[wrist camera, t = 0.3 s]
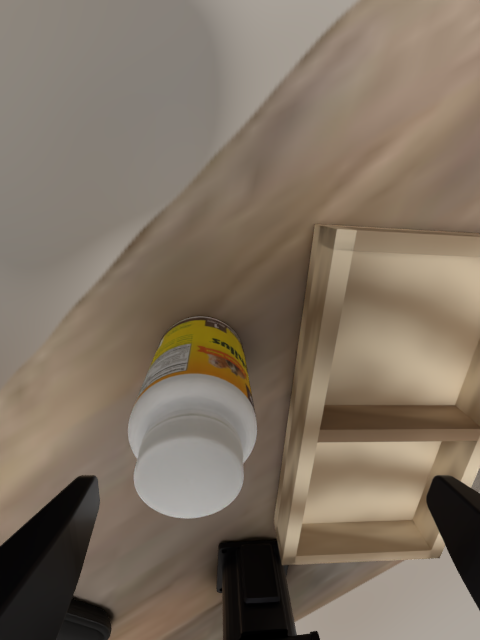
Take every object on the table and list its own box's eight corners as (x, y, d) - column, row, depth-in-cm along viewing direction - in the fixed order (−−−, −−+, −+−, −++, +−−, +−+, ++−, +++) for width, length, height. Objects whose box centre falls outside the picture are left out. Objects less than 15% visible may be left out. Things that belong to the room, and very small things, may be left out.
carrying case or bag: (-76, 618, 29) (71, 657, 33) (-108, 663, 26) (57, 700, 30) (-29, 555, 26) (123, 606, 30) (-59, 598, 23) (114, 648, 27)
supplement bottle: (256, 366, 21) (290, 501, 12) (185, 399, 22) (162, 553, 12) (219, 297, 19) (223, 392, 10) (142, 335, 20) (74, 460, 10)
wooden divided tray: (413, 516, 28) (439, 558, 25) (273, 521, 27) (281, 565, 24) (517, 235, 19) (579, 242, 16) (314, 224, 18) (337, 229, 15)
